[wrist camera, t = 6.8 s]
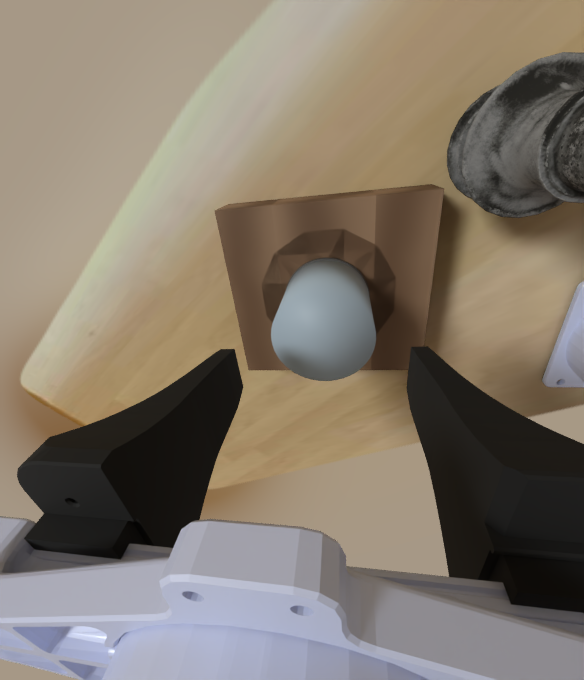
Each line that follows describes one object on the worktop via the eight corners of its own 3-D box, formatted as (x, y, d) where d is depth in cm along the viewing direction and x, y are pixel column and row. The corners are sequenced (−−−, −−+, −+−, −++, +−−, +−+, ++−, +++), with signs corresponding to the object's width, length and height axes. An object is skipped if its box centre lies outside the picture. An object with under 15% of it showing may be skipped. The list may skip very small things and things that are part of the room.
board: (431, 184, 17) (444, 188, 15) (413, 349, 23) (420, 369, 21) (228, 204, 20) (214, 210, 17) (256, 351, 25) (248, 370, 23)
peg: (367, 243, 19) (379, 286, 13) (366, 317, 22) (375, 382, 16) (287, 248, 20) (262, 291, 14) (294, 318, 23) (276, 381, 17)
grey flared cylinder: (504, 224, 18) (714, 320, 8) (418, 175, 17) (525, 211, 7) (598, 110, 15) (1140, 25, 5) (498, 45, 14) (878, -212, 4)
